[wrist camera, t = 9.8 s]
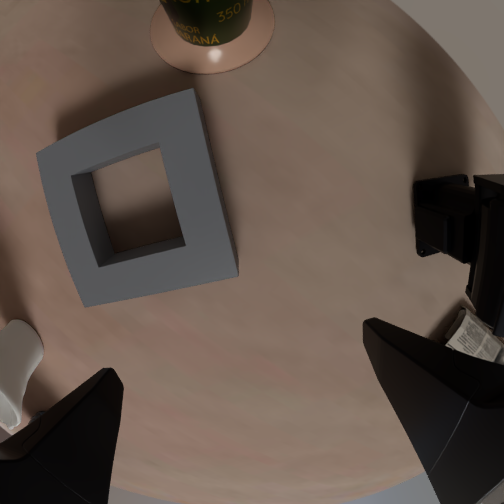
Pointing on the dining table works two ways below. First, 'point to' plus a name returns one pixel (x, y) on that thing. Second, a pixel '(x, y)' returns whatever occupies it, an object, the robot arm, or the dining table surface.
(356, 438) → the dining table surface
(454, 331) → the newspaper
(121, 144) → the square frame
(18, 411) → the cup
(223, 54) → the coaster
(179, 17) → the beer can
